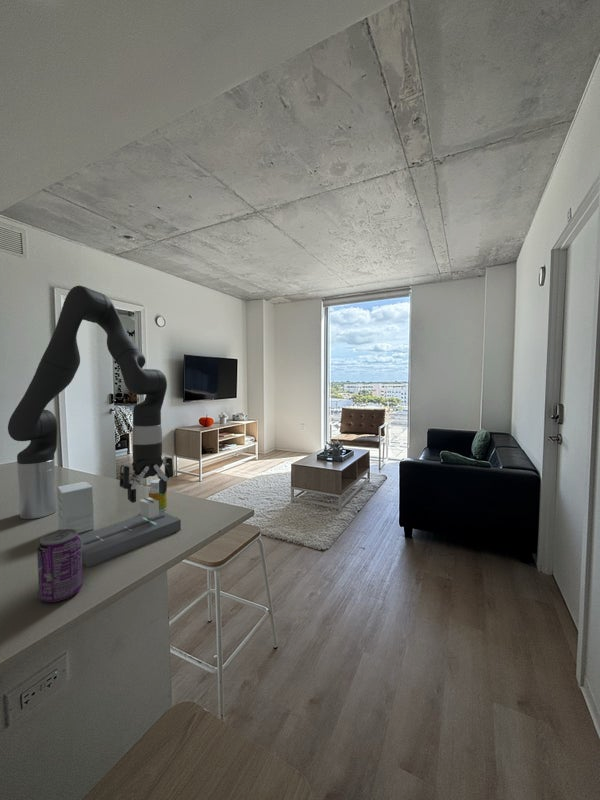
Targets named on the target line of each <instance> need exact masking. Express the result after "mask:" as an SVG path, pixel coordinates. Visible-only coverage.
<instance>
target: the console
mask: <svg viewBox="0 0 600 800" xmlns="http://www.w3.org/2000/svg"><path fill="white" fill-rule="evenodd" d="M181 523H182V522H181V518H178V517H175V516H173V515H171V514H169V513H167V512H165V511H160V510H159V515H157V516H154V517H152V518H151V520H147V517H145V516H143V515H141V514H139V515H137V516H134V517H132V518H129V519H126V520H122V521H119V522H117V523H114V524H110V525H107V526H104V527H100V528H98V529H95V530H92V531H88V532H86V533H84V534H79V535H78V536H79V537H80V539H81V552H82V565H84V566H86V567H87V568H90V567H93V566H95V565H98V564H100V563H103V562H105V561H108V560H110V559H113V558H115V557H117V556H120V555H122V554H125V553H127V552H130V551H132V550H134V549H137V548H139V547H143V546H144V545H147V544H149V543H152V542H154V541H157V540H159V539H161V538H164V537H166V536H169V535H171V534H174V533H176V532H179V531H181V530H182V525H181Z"/></svg>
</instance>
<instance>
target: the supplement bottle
mask: <svg viewBox="0 0 600 800" xmlns="http://www.w3.org/2000/svg"><path fill="white" fill-rule="evenodd" d="M159 480H160V479H159V478H158V479H153V480H151V481H150V487H149V489H148V497H150V498H153V499H155V500H158V501H159V510H160V511H162V512H165V510H167V508H168V507H167V506H168V505H167V504H168V503H167V502H168V501H167V498H168V497H167V490H166V491H165V494H160V493H159Z"/></svg>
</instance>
